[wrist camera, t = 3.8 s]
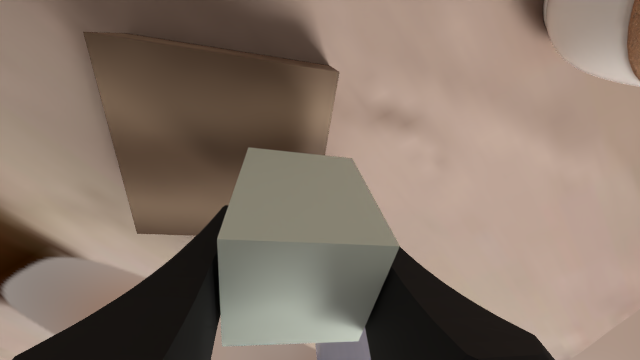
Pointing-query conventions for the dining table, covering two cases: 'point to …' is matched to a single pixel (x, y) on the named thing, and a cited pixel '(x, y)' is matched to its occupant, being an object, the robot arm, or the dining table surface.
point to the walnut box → (201, 120)
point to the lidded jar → (597, 36)
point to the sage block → (300, 251)
